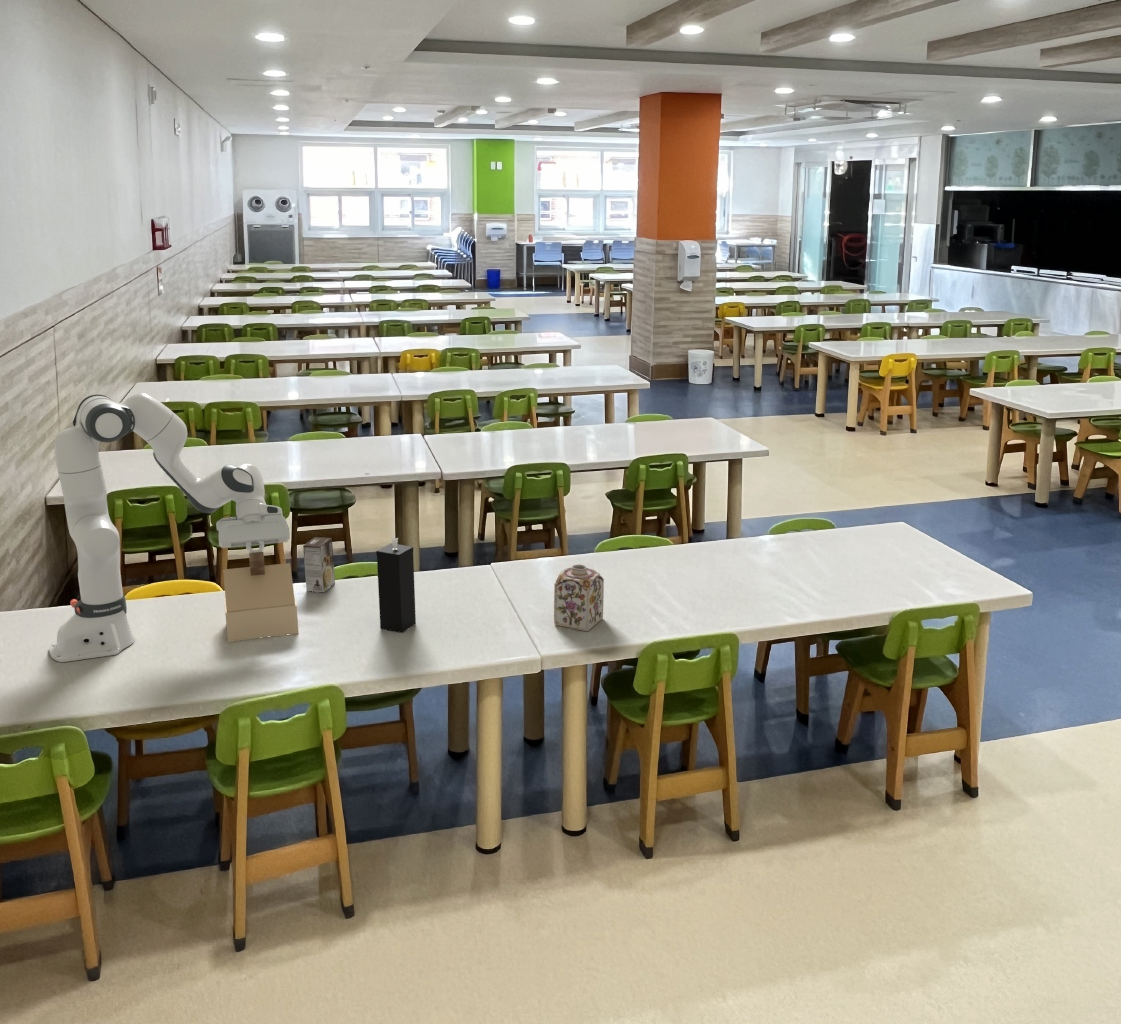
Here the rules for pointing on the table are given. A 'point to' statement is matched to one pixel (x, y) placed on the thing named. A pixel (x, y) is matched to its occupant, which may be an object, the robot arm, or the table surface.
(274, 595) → the lid flap
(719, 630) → the table surface
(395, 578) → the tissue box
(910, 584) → the table surface
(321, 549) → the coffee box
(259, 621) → the carton
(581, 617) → the decorative jar
